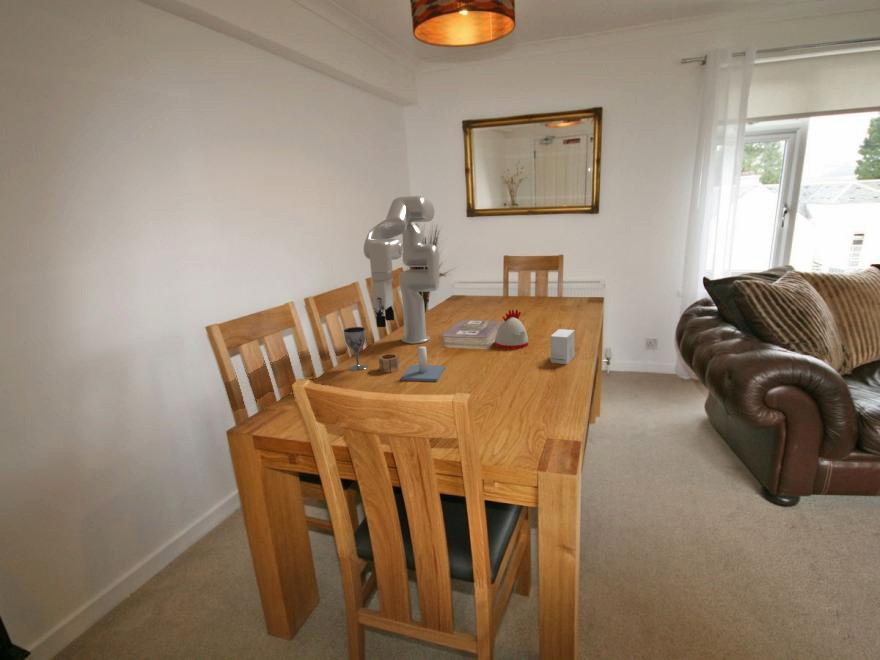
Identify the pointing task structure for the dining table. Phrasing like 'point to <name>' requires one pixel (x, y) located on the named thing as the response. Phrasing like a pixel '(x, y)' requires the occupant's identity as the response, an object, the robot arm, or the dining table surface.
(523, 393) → the dining table surface
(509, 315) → the kitchen timer
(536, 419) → the dining table surface
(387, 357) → the ring
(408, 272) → the robot arm
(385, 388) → the dining table surface
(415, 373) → the piston stand
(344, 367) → the dining table surface
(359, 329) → the wine glass
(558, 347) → the skincare box
